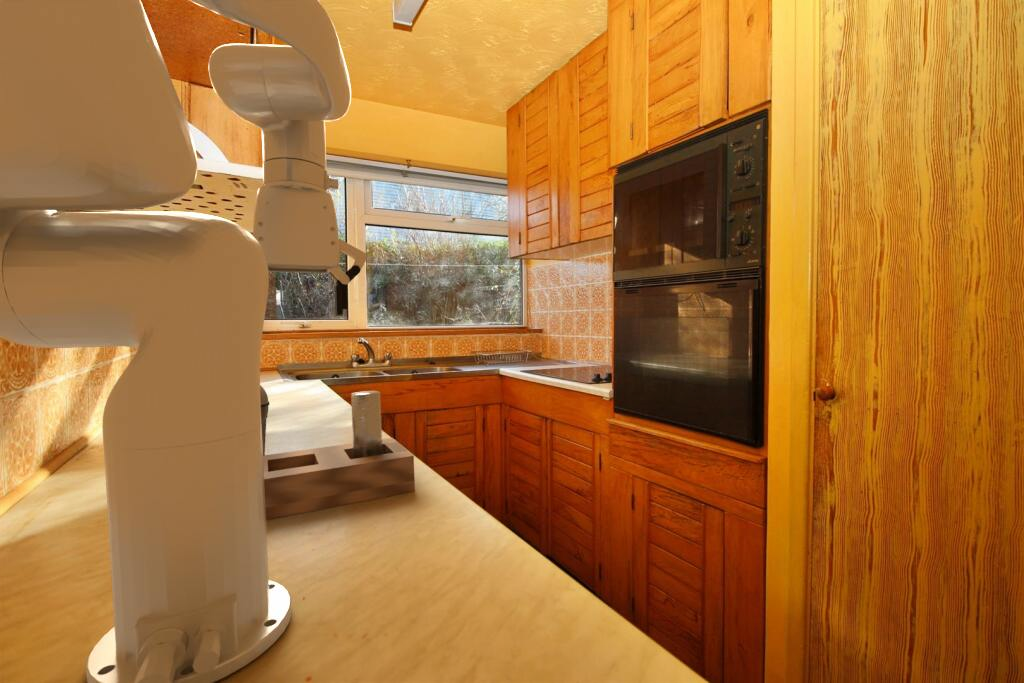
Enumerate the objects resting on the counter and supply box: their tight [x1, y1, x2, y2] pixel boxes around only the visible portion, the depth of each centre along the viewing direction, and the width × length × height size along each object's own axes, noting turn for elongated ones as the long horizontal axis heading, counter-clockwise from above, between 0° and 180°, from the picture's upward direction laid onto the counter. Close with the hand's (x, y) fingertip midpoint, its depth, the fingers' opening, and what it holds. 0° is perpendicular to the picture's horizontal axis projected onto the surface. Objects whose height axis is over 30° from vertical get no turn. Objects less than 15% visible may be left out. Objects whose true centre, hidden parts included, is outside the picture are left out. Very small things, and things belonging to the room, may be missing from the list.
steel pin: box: [350, 390, 383, 459], centre depth 68 cm, size 4×4×12 cm
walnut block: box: [263, 437, 416, 521], centre depth 66 cm, size 20×12×5 cm, turn 118°
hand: (299, 315), depth 61 cm, fingers open, 9 cm apart
